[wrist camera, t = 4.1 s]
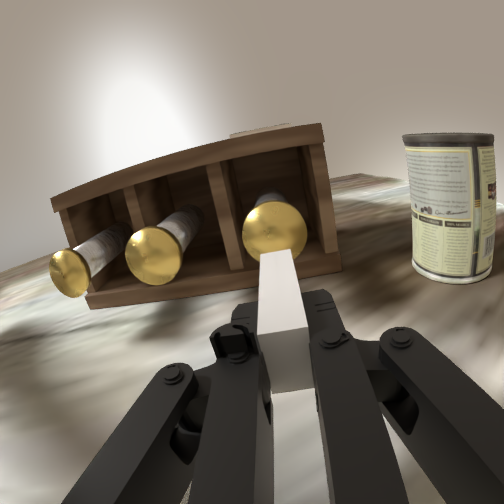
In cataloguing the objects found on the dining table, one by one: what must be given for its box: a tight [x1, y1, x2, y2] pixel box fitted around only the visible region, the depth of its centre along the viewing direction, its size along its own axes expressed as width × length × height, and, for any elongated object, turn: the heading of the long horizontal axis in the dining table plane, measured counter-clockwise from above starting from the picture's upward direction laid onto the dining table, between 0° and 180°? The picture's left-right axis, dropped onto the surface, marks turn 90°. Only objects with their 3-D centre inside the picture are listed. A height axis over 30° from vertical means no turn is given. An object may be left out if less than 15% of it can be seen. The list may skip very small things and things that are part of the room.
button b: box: [125, 204, 204, 285], centre depth 28 cm, size 13×5×5 cm, turn 178°
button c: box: [49, 222, 134, 298], centre depth 29 cm, size 13×5×5 cm, turn 178°
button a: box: [242, 187, 307, 262], centre depth 27 cm, size 13×5×5 cm, turn 178°
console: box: [50, 123, 342, 309], centre depth 36 cm, size 14×33×17 cm, turn 88°
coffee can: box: [402, 133, 496, 284], centre depth 24 cm, size 10×10×14 cm
